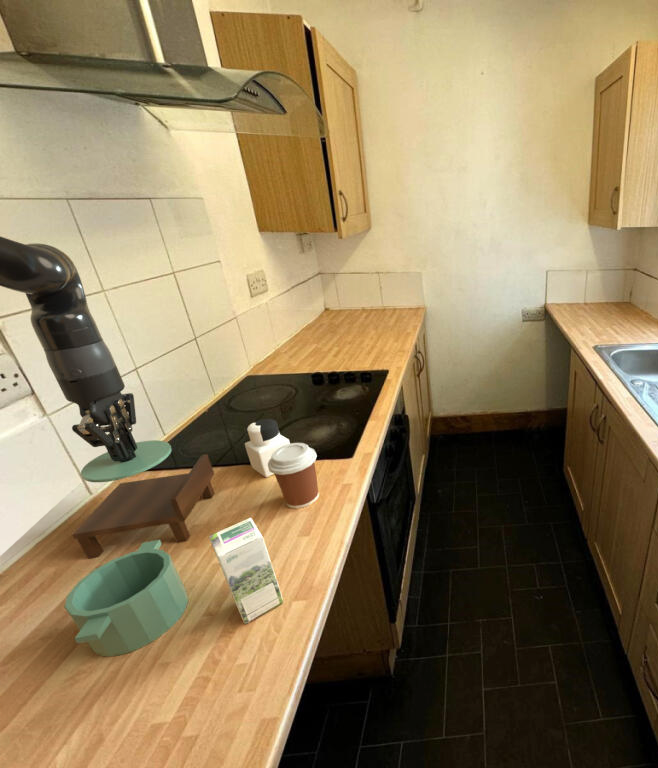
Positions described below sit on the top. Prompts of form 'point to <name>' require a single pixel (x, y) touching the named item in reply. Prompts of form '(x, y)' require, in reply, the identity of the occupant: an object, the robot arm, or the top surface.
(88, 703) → the top surface
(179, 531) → the shelf
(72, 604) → the pot
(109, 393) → the robot arm
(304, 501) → the coffee cup
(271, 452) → the medicine bottle
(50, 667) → the top surface
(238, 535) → the milk carton
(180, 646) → the top surface
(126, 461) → the lid
